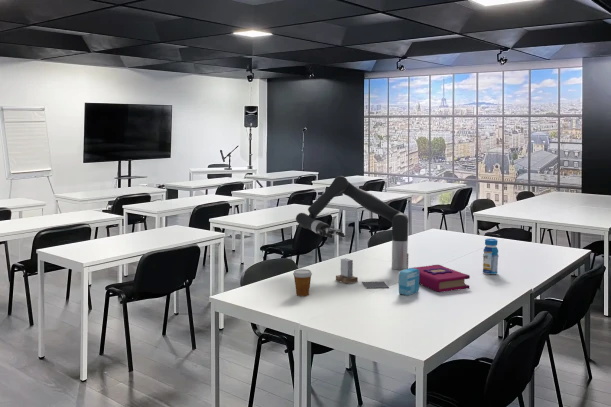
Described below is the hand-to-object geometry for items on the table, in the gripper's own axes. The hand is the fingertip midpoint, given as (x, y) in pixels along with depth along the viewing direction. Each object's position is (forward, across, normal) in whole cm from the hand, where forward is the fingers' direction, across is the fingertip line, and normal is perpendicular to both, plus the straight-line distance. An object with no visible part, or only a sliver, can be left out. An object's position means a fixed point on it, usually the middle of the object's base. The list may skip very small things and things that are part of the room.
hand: (337, 235), depth 312 cm
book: (+46, +35, +16) cm, 60 cm away
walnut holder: (+13, 0, +22) cm, 25 cm away
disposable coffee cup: (+19, -35, +23) cm, 46 cm away
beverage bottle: (+50, +76, +13) cm, 92 cm away
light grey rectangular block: (+13, 0, +22) cm, 25 cm away
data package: (+49, +9, +16) cm, 53 cm away
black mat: (+28, +6, +20) cm, 35 cm away
